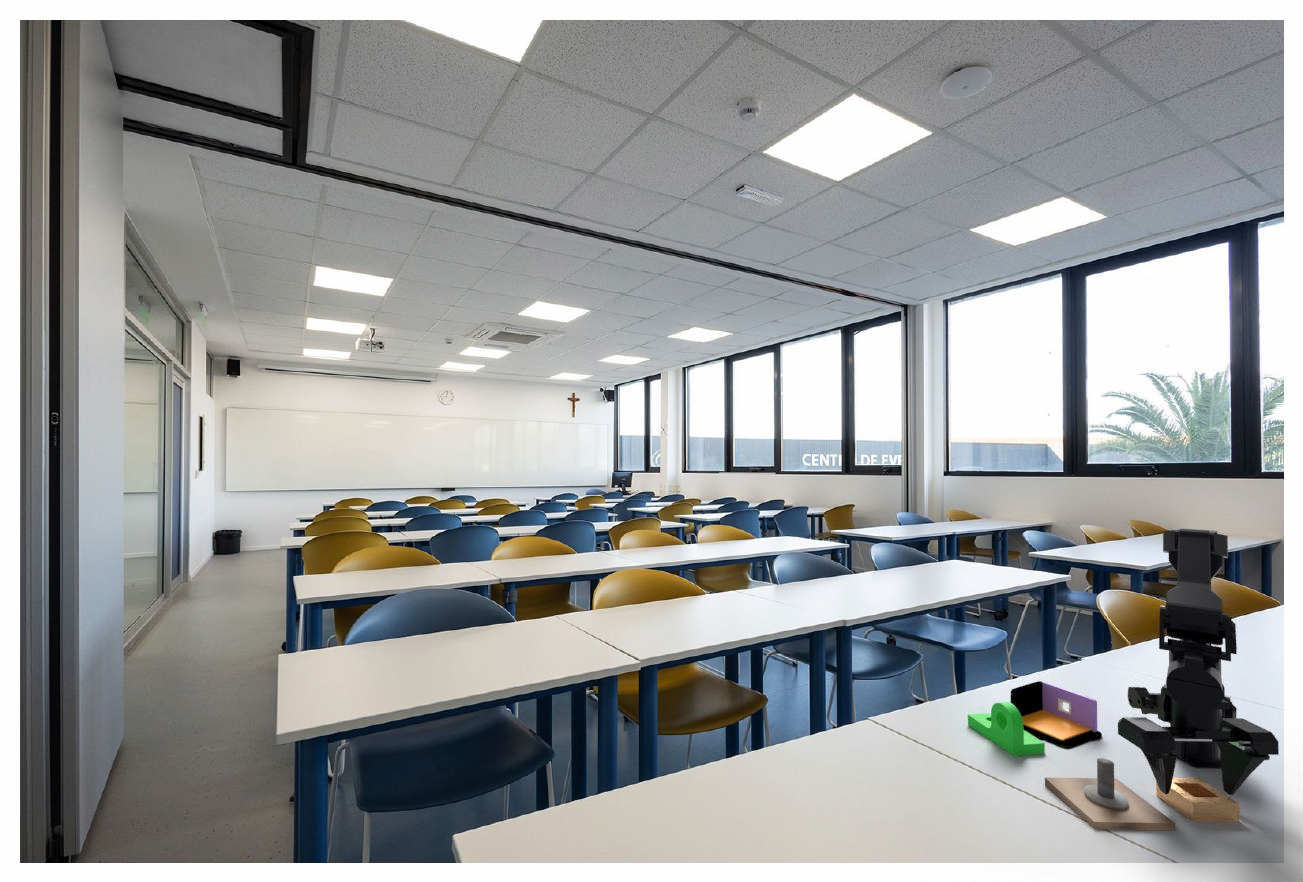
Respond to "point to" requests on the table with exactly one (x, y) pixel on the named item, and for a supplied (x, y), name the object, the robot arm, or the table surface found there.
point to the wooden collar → (1200, 801)
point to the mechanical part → (1006, 730)
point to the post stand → (1108, 801)
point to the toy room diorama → (1056, 714)
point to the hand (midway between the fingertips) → (1196, 792)
